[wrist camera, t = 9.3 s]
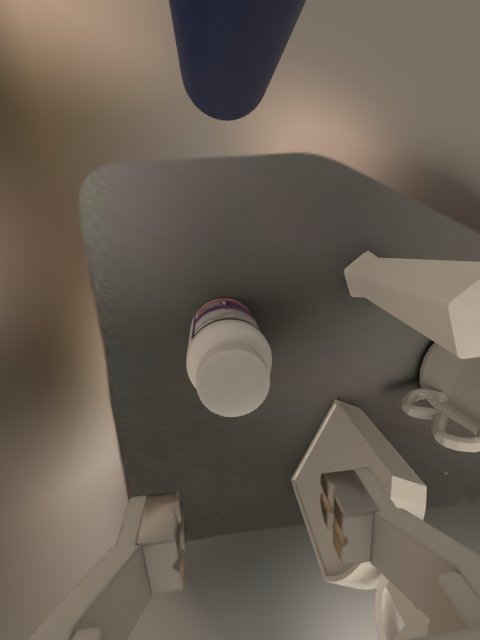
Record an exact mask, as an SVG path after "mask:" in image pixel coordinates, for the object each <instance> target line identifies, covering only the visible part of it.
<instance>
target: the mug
mask: <svg viewBox="0 0 480 640" xmlns="http://www.w3.org/2000/svg"><path fill="white" fill-rule="evenodd" d="M419 383H420V387H421V388H420V389H414V390H411V391H410V392H408V393H407V394H406V395H405V396H404V398H403V400H402V401H401V404H402V409H403V411H404V412H405V413H406V414H408V415H409V416H412V417H415V418H421V419H429V420H433V422H432V427H431V431H432V433H433V435H434V438H435V440H436V441H437V442H439V443H440V444H442V445H443V446H445V447H448V448H451V449H454V450H458V451H466V452H478V451H480V357H476V358H467V359H460V358H459V357H457V356H456V355H454V354H452V353H451V352H449V351H448V350H446V349H445V348H443V347H442V346H440V345H438V344H437V343H435V342H434V343H433V344H432V346H431V347H430V348H429V350H428V352H427V353H426V355H425V357H424V359H423V362H422V365H421V368H420V378H419ZM420 399H426V400H427V401H428V402H429V404H430V405H432V406H433V407H434V408H435V409H433V408H427V407H418V406H414V405H413V404H414V402H416V401H418V400H420ZM447 417H449V418H450V419H452V420H454V421H456V422H457V423H459V424H461V425H462V426H464V427H466V428H467V429H468V430H470V431H471V432H472V433H474V434H475V435H477V436H476V437H474V438H465V437H457V436H454V435H451V434H448V433H447V432H446V428H447V425H448V418H447Z"/></svg>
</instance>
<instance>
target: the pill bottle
mask: <svg viewBox="0 0 480 640" xmlns="http://www.w3.org/2000/svg"><path fill="white" fill-rule="evenodd" d="M186 367H187V373H188V376H189V378H190V380H191V382H192V384H193V385H194V387H195V388H196V389H197V392H198V395H199V398H200V400H201V401H202V403H203V404H204V405H205V406H206V407H207V408H208V409H209V410H210V411H212V412H214V413H216V414H218V415H221V416H226V417H237V416H242V415H245V414H248V413H250V412H252V411H253V410H255V409H256V408H257V407H259V406H260V405H261V403H262V402H263V401H264V399H265V398H266V396H267V394H268V391H269V387H270V376H269V375H270V372H271V367H272V353H271V349H270V346H269V344H268V342H267V340H266V338H265V336H264V335H263V333H262V331H261V329H260V327H259V326H258V324H257V322H256V320H255V318H254V316H253V315H252V313H251V312H250V310H249V309H248V308H247V307H246V306H244V305H243V304H241V303H240V302H238V301H235V300H232V299H216V300H213V301H210V302H208V303H206V304H205V305H203V306H202V307H201V308H200V309H199V310H198V311H197V313H196V314H195V316H194V318H193V320H192V323H191V328H190V335H189V343H188V350H187V357H186Z"/></svg>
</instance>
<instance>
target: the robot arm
mask: <svg viewBox="0 0 480 640" xmlns="http://www.w3.org/2000/svg"><path fill="white" fill-rule="evenodd" d="M320 484H321V486H322V489H323V492H322V494H321V495H320V504H321V511H322V515H323V519H324V522H325V525H326V527H327V529H328V530H329V531H330V532H332V533H333V545H334V547H335V550H336V552H337V555H338V557H339V559H340V562H341V564H342V565H348V564H357V563H365V562H371V564H372V565H373V566H374V567H375V568H376V569H377V570H378V571H379V572H380V573H381V574H382V575H384V576H385V577H386V578H387V579H388V580H389V581H390V582H391V583H392V584H393V585H394V586H395V587H396V588H397V589H398V590H399V591H400V592H402V593H403V594H404V595H405V596H406V597H407V598H408V599H409V600H410V601H411V602H412V603H413V604H414V605H415V606H416V607H417V608H418V609H420V610H421V611H422V612H423V613H424V614H425V615H426V616H427V617H428V618H429V619H430V620H429V626H428V632H427V636H421V637H416V638H410V639H404V640H480V555H479V554H477V553H475V552H474V551H472V550H470V549H469V548H467V547H465V546H464V545H462V544H461V543H459V542H457V541H456V540H454V539H452V538H450V537H449V536H447V535H446V534H444V533H442V532H441V531H439V530H437V529H436V528H434V527H433V526H431V525H429V524H427V523H426V522H424V521H423V520H421V519H419V518H418V517H416V516H414V515H413V514H411V513H410V512H408V511H406V510H405V509H403V508H399V509H397V507H396V506H395V504H394V503H393V501H392V500H391V498H390V497H389V495H388V494H387V493H386V491H385V490H384V488H383V487H382V485H381V484H380V482H379V481H378V479H377V478H376V477H375V475H374V474H373V472H372V471H371V469H370V468H368V467H364V468H357V469H352V470H343V471H336V472H329V473H322V474H321V479H320ZM182 507H183V499H182V494H181V492H174V493H164V494H154V495H148V496H139V497H131V498H130V500H129V501H128V505H127V508H126V511H125V515H124V519H123V522H122V525H121V529H120V532H119V536H118V539H117V543H116V546H115V548H113V549H110V550H108V551H107V552H106V554H105V555H104V556H103V557H102V558H101V559H100V560H99V561H98V562H97V563H96V564H95V565H94V567H93V568H92V569H91V570H90V571H89V572H88V573H87V574H86V575H85V576H84V577H83V579H82V580H81V581H80V582H79V583H78V584H77V585H76V586H75V587H74V588H73V589H72V591H71V592H70V593H69V594H68V595H67V596H66V597H65V598H64V599H63V600H62V602H61V603H60V604H59V605H58V606H57V607H56V608H55V609H54V610H53V611H52V612H51V614H50V615H49V616H48V617H47V618H46V619H45V620H44V621H43V622H42V623H41V624H40V625H39V627H38V628H37V629H36V630H35V631H34V632H33V633H32V634H31V636H30V638H29V640H127V638H128V637H129V635H130V633H131V632H132V630H133V628H134V626H135V625H136V623H137V621H138V620H139V618H140V616H141V614H142V613H143V611H144V610H145V608H146V606H147V604H148V603H149V601H150V599H151V598H152V597H151V595H155V594H161V593H166V592H172V591H177V590H182V589H183V578H184V558H183V552H184V551H185V549H186V521H185V513H184V512H182Z"/></svg>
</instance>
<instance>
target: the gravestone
mask: <svg viewBox="0 0 480 640" xmlns="http://www.w3.org/2000/svg"><path fill="white" fill-rule="evenodd" d="M364 467H368V468H370V469H371V471H372V472H373V474H374V475H375V477H376V478H377V479H378V481H379V482H380V484H381V485H382V487H383V488H384V490H385V491H386V493H387V494H388V495H389V497H390V498H391V500H392V501H393V503H394V504H395V506H396V507H397V509H399V508H403V509H405V510H406V511H408V512H410V513H411V514H413V515H414V516H416V517H418V518H419V519H421V520H423V518H424V514H425V508H426V485H425V484H424V483H423V482H422V481H421V479H420V478H419V477H418V476H417V475H416V474H415V472H414V471H413V470H412V469H411V468H410V466H409V465H408V464H407V463H406V462H405V461H404V459H403V458H402V457H401V456H400V455H399V453H398V452H397V451H396V450H395V449H394V447H393V446H392V445H391V444H390V443H389V442H388V440H387V439H386V438H385V437H384V436H383V434H382V433H381V432H380V431H379V430H378V429H377V427H376V426H375V425H374V424H373V423H372V421H371V420H370V419H369V418H368V417H367V416H366V414H365V413H364V412H363V411H362V410H361V408H359V407H356V406H353V405H350V404H347V403H345V402H342V401H339V400H336V399H335V400H334V402H333V404H332V406H331V407H330V409H329V411H328V413H327V415H326V416H325V418H324V420H323V422H322V424H321V426H320V427H319V429H318V431H317V433H316V435H315V436H314V438H313V440H312V442H311V444H310V445H309V447H308V449H307V451H306V453H305V454H304V456H303V458H302V460H301V462H300V463H299V465H298V467H297V469H296V471H295V472H294V474H293V476H292V478H291V482H292V485H293V488H294V491H295V494H296V497H297V500H298V503H299V506H300V509H301V512H302V515H303V518H304V521H305V524H306V527H307V530H308V533H309V536H310V539H311V542H312V545H313V548H314V551H315V554H316V557H317V560H318V563H319V566H320V569H321V572H322V575H323V578H324V581H326V582H331V583H335V584H339V585H344V586H348V587H352V588H357V589H365V590H370V589H373V588H377V590H376V596H375V619H376V627H377V633H378V638H379V640H404V639H410V638H416V637H421V636H427V632H428V626H429V620H430V619H429V618H428V617H427V616H426V615H425V614H424V613H423V612H422V611H421V610H420V609H418V608H417V607H416V606H415V605H414V604H413V603H412V602H411V601H410V600H409V599H408V598H407V597H406V596H405V595H404V594H403V593H402V592H400V591H399V590H398V589H397V588H396V587H395V586H394V585H393V584H392V583H391V582H390V581H389V580H388V579H387V578H386V577H385V576H384V575H382V574H381V573H380V572H379V571H378V570H377V569H376V568H375V567H374V566H373V565H372V564H371V562H365V563H357V564H348V565H342V564H341V562H340V559H339V557H338V555H337V552H336V550H335V547H334V545H333V533H332V532H330V531H329V530H328V529H327V527H326V525H325V522H324V519H323V515H322V511H321V504H320V495H321V494H322V492H323V489H322V486H321V484H320V479H321V474H322V473H329V472H336V471H343V470H352V469H357V468H364ZM398 612H399V614H400V616H401V618H402V620H403V622H404V624H405V626H404V627H403V629H402V630H401V631H400V629H399V623H398Z"/></svg>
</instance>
